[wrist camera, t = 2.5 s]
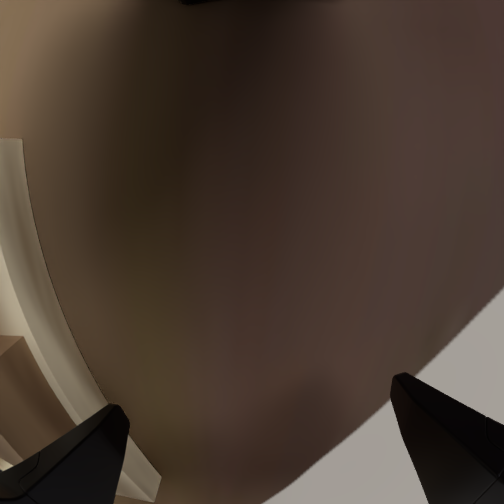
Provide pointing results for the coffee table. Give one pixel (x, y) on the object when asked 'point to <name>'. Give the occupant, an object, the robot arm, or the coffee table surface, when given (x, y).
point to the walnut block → (26, 404)
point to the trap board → (49, 318)
